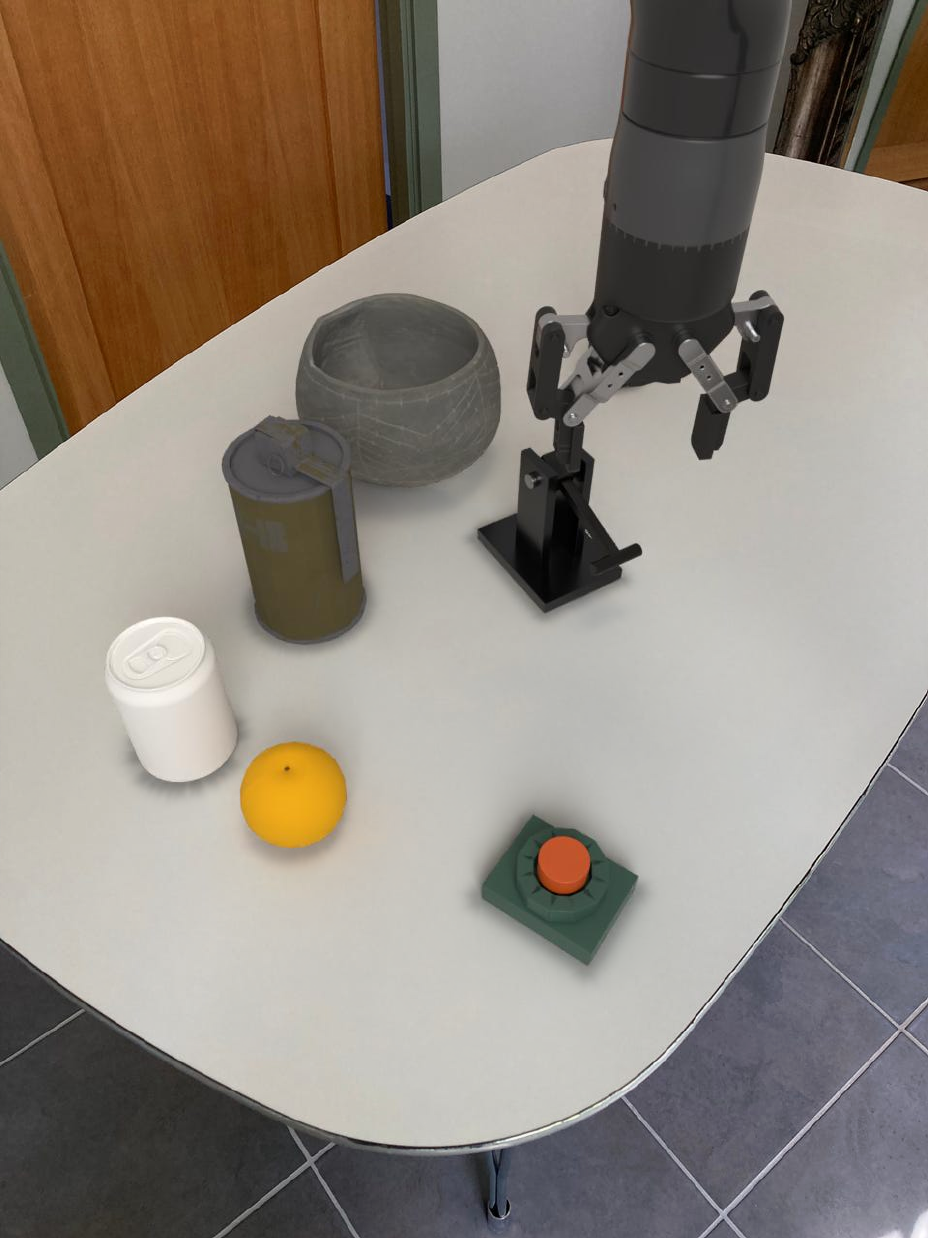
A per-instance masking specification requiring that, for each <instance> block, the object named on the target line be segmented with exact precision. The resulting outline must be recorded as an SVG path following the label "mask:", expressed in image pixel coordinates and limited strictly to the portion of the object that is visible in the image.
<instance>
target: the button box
mask: <svg viewBox="0 0 928 1238" xmlns="http://www.w3.org/2000/svg"><path fill="white" fill-rule="evenodd" d="M560 836H565V837H571V838H573V839H576V840H577V841H579V842H580V843H581V844H583V845H584V847H585V848H586V849H587V851H588V853H589V857H590V867H589V871H588V876H587V880H586V882H585V884H584V885H583V886H582V887H581V888H580V889H579V890H578V891H576V892H573V893H570V894H558V893H555V892H552V891H550V890H549V889H547V888H546V887H545V886H544V885H543V884H542V883H541V881H540V879H539V877H538V873H537V865H538V857H539V852H540V849H541V848H542V846H543V845H544V844H545V843H546V842H547V841H548V840H550V839H552V838H555V837H560ZM638 879H639V875H637V874H636V873H634V872H632V871H631V870H629V869H627V868H625V867H624V866H622V865H621V864H619V863H618V862H615V861H614V860H612V859H610V858H608V857H607V856H606V855H605V853H604V852H603V850H602V848H601V847H600V845H599V843H598V842H597V841H596V840H595V839H593V838H591V837H590V836H588V835H587V834H584V833H583V832H581V831H579V830H578V829H576V828H568V827H556V826H554V825H553V824H551V823H549V822H548V821H546V820H544V819H542V818H540V817H539V816H537V815H535V814H532V815H531V817H529V819H528V821H527V822H526V824H525V825H524V826H523V828H522V829H521V831H520V832H519V833H518V835H517V836H516V837H515V839H514V840H513V841H512V843H511V844H510V845H509V846H508V848H507V849H506V851H505V853H504V854H503V855H502V857H501V858H500V859H499V861H498V862H497V863H496V865H495V866H494V867H493V869H492V870H491V872H490V873H489V874H488V876H487V877H486V879H485V880H484V881H483V883H482V884H481V885H482V886H481V899H483V900H484V901H486V902H487V903H490V905H492V906H494V907H495V908H497V909H499V910H500V911H501V912H503V913H504V914H507V915H508V916H510V918H513V919H514V920H515V921H517V922H519V923H520V924H522V925H523V926H525V927H526V928H528V929H530V930H531V931H533V932H534V933H536V934H537V935H539V936H540V937H542V938H544V939H545V940H547V941H548V942H550V943H552V944H553V945H554V946H556V947H557V948H559V949H561V950H562V951H564V952H565V953H567V954H568V955H570V956H571V957H573V958H575V959H577V961H579V962H581V963H583V965H586V966H587V967H589V966H590V964H591V962H592V960H594V957H595V956H596V954H597V952H599V949H600V948H601V946H602V944H603V943H604V941H605V939H606V938H607V936H608V934H609V933H610V931H611V930H612V928H613V927H614V925H615V923H616V922H617V920H618V918H619V917H620V915H621V914H622V911H623V910H624V909H625V906H627V903H628V902H629V900H630V898H631V897H632V895H633V893H634V892H635V890H636V888H637V887H636V886H637V883H638Z"/></svg>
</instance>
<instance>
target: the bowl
mask: <svg viewBox="0 0 928 1238" xmlns="http://www.w3.org/2000/svg"><path fill="white" fill-rule="evenodd" d="M303 343H304V344H303V346H302V348H301V349H302V350H301V353H300V356H299V361H298V366H297V371H296V377H295V389H294V390H295V393H294V396H295V407H296V411H297V412H296V413H297V417H298V420H307V421H313V422H319V423H321V424H324V425H326V426H328V427H330V428H332V429H334V430H336V431H338V432H339V433H340V434H341V435H342V436H343V437H344V438H345V439H346V441H347V443H348V445H349V446H350V449H351V455H352V457H351V466H350V468H351V478H352V477H353V478H355V479H358V480H360V481H364V482H368V483H374V484H378V485H386V486H392V487H397V488H398V487H401V488H403V487H404V488H413V487H424V486H428V485H433V484H437V483H439V482H442V481H444V480H447V479H449V478H452V477H454V476H456V475H458V474H459V473H461V472H462V471H465V470H466V469H468V468H469V467H470V466H472V465H473V464H474V463H475V462H477V460H478V459H480V457H482V456H483V454H485V452H486V451H487V449H488V448H489V447H490V445H491V444H492V442H493V441H494V439H495V436H496V434H497V431H498V428H499V426H500V423H501V416H502V415H501V414H502V393H501V392H502V386H501V374H500V373H501V372H500V368H499V362H498V359H497V356H496V353H495V350H494V348H493V346H492V343H491V342H490V339H489V337H488V336H487V334H486V333H485V331H484V330H483V328H482V327H480V325H479V323H478V322H477V321H476V320H474V319H473V318H472V317H470V316H469V315H468V314H466V313H465V312H463V311H461V310H460V309H458V308H456V307H454V306H450V305H449V304H446V303H444V302H440V301H437V300H434V299H431V298H428V297H424V296H422V295H421V296H420V295H417V294H412V293H403V292H402V293H401V292H391V293H389V292H387V293H386V292H385V293H378V294H374V295H373V294H372V295H368V296H364V297H361V298H357V299H354V300H352V301H350V302H348V303H346V304H343V305H341V306H340V307H338V308H336V309H334V310H331V311H330V312H327V313H325V314H323V315H321V316H319V317H317V319H316V320H315V322H314V324H313V325H312V327H311V329H310V331H309V333H308V335H307V337H306V338H305V341H304V342H303Z"/></svg>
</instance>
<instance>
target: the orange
mask: <svg viewBox="0 0 928 1238" xmlns="http://www.w3.org/2000/svg"><path fill="white" fill-rule="evenodd" d="M347 798H348V793H347V781H346V778H345V774H344V773H343V771H342V769H341V767H340V764H339V762H337V760H336V758H334V756H332V755H330V753H328V752H327V751H326V750H324V748H322V747H319V746H317V745H314V744H311V743H309V742H302V741H287V742H281V743H278V744H275V745H273V746H271V747H268V748H266V749H264V750H263V751H262V752H260V753H259V754H258V755H256V756H255V757H254V758H253V760H252V761H251V763H250V764H249V765H248V767H247V768H246V770H245V772H244V775H243V778H242V781H241V784H240V788H239V803H240V804H239V805H240V810H241V812H242V815H243V817H244V820H245V822H246V825H247V827H248V828H249V829H251V831H252V832H253V833H254V834H255V835H256V836H257V837H258V838H260V839H261V840H262V841H265V842H267V844H268V843H269V844H271V845H272V846H276V848H277V847H278V848H286V849H298V848H304V847H309V846H310V845H313V844H316V843H318V842H320V841H322V840H324V838H326V837H327V836H328V835H329V834H331V833H332V832H333V831H334V830H335V828H336V827H337V825H338V823H339V822H340V820H341V819H342V818H343V815H344V811H345V807H346V803H347V800H348V799H347Z"/></svg>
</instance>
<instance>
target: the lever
mask: <svg viewBox="0 0 928 1238" xmlns="http://www.w3.org/2000/svg"><path fill="white" fill-rule="evenodd" d="M540 457H541V458H542V459H543V460H544V461H545V462H546V463H547V464H548V465H549V466H550V467H551V468H552V469H553V470H554V471H555V472H556V473H557V474H558V478H557V488H556V491H559V490H560V491H561V492H562V494H563V496H564V497H565V499H566V500H567V502H568V503H569V505H570V506H571V508H572V509H573V511H574V512H575V514H576V515H577V517H578V518H579V520H580V521H581V523H582V524H583V526H584V527H585V529H586V530H585V531H586V533H587V534H588V535H589V536H590V537H591V538H592V539H593V541H594V542H595V544H596V545H597V547H598V548H599V550H600V551H601V553H602V554H603V556H604V557H603V558H601V559H598V560H596V561H594V562H592V563H590V564H589V571H590V573H591V574H592V575H593V576H597V575H599V574H601V573H603V572H605V571H608V570H610V569H612V568H614V567H617V566H621V565H623V564H626V563H628V562H629V561H632V560H635V559H636V558H638V557H641V556H642V555H643V549H642V546H641V545H640V544H639V543H637V542H635V543H632V544H630V545H627V546H625V547H623V548H621V549H619V547H618V546H617V545H616V543H615V542H614V540H613V539H612V537H611V536H610V534H609V533H608V531H607V530H606V528H605V527H604V525H603V524H602V522H601V521H600V520H599V518H598V516H597V515H596V513H595V512H594V510H593V509H592V507H591V505H590V503H589V504H588V503H587V501H586V500H585V498H584V497H583V495H582V494H581V493H580V491H579V490H578V488H577V487H576V485H575V484H574V482H573V480H574V478H575V475H576V473H577V472H567V469H566V467H565V464H563V465H560V463H559V461H558V459H557V456H556V453H555V450H551V451H549V452H547V453H543V454H542V455H541V456H540Z"/></svg>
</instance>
